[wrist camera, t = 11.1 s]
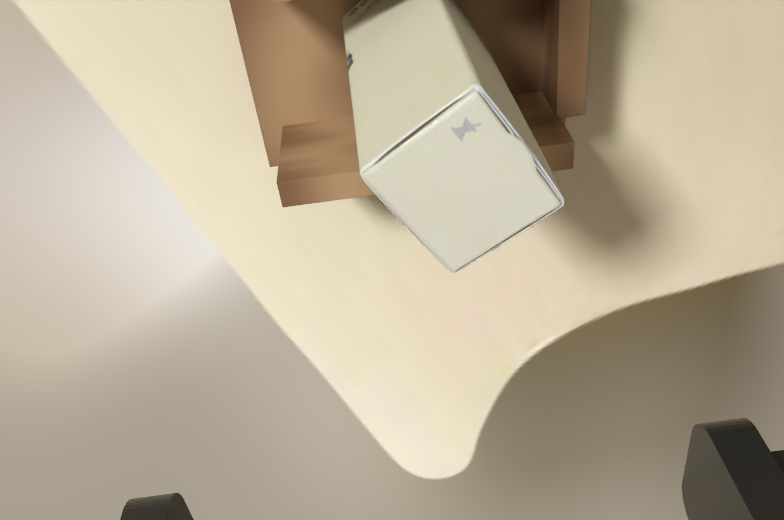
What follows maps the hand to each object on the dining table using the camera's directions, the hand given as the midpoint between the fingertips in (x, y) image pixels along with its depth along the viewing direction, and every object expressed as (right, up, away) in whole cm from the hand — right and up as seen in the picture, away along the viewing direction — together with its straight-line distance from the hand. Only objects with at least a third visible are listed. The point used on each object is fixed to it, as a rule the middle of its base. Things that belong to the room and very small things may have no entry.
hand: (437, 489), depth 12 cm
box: (0, +13, +20) cm, 24 cm away
